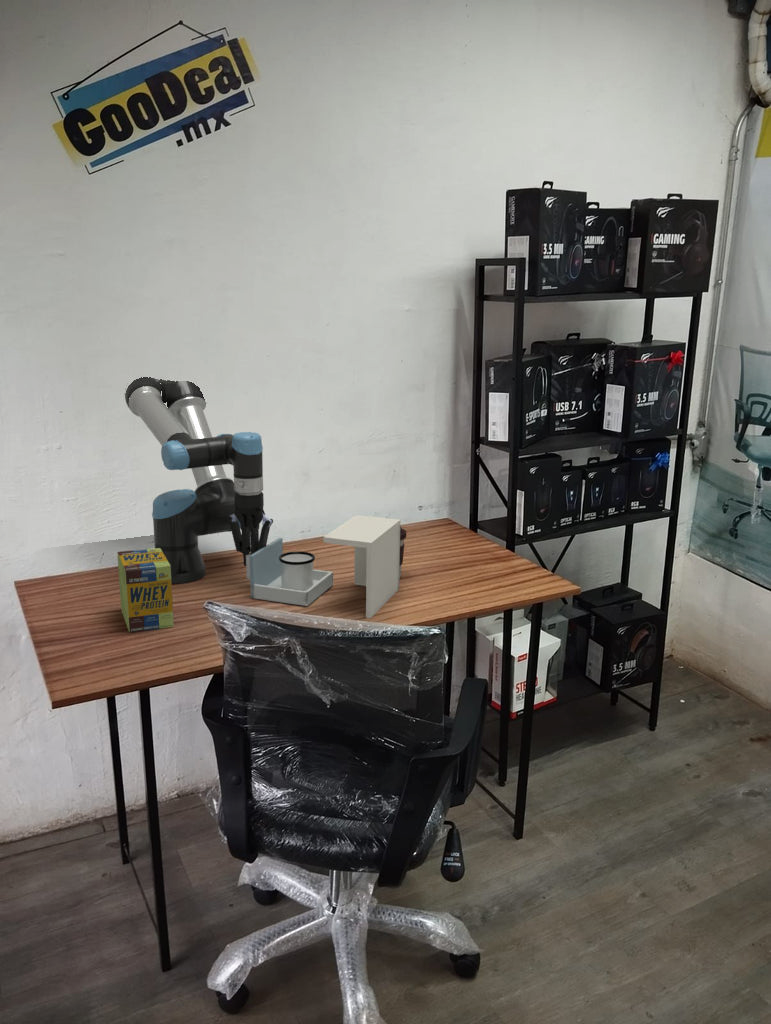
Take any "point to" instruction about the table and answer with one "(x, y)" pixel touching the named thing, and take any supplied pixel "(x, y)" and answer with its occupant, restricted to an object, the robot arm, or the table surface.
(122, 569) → the protein box
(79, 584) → the table surface
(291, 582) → the mug
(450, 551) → the table surface
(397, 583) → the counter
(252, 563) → the tray
